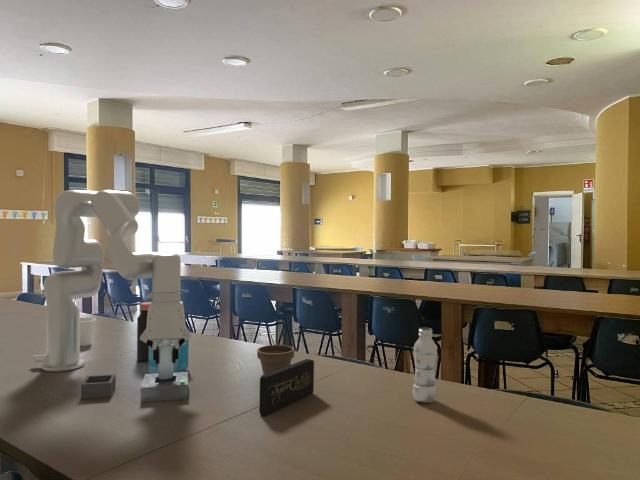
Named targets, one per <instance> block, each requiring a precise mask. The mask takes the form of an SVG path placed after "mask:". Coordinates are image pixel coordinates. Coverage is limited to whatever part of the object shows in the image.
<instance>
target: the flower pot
mask: <svg viewBox="0 0 640 480" xmlns="http://www.w3.org/2000/svg"><path fill="white" fill-rule="evenodd" d="M256 353H257V355H256V356H257V359H258V360H259V361H260V364H261V368H262V369H261V370H262V373H263V374H262V375H264V374H267V373H270V372H273V371H275V370H278V369H281V368H283V367H286V366H289V365H292V364H291V363H292V360H293V358H295V348H294V347H293V346H291V345H290V346H289V345H286V344H269V345H265V346H260V347H259V348H257V349H256Z"/></svg>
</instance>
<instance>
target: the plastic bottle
mask: <svg viewBox="0 0 640 480" xmlns="http://www.w3.org/2000/svg"><path fill="white" fill-rule="evenodd" d="M433 335H434V334H433V329H432V328H430V327H419V328H418V336H419V337H418V338H417V340H416V341H415V342H414V345H413V356H414V367H415V368H414V371H415V372H414V380H413V385H412V396H413V398H414V401H416V402H418V403H424V404H426V403H428V404H429V403H432V402H434V401H435V400H436V398H437V388H436V386H437V385H436V379H435V368H436V359H437V353H438V347H437V345H436V343H435V341H434V339H433V338H432V337H433Z"/></svg>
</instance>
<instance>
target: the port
mask: <svg viewBox="0 0 640 480" xmlns="http://www.w3.org/2000/svg"><path fill="white" fill-rule="evenodd" d="M188 375H189V371H181V372H173V377H172V378H170V379H159V378H158V373H157V374H150V373H145V374H144V377H143V379H142V383H141V385H140V403H141V404H142V403H153V402H165V401H168V402H169V401H179V400H188V390H189V388H188V387H189V386H188V384H189V383H188V382H189V376H188Z"/></svg>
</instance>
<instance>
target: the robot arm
mask: <svg viewBox="0 0 640 480" xmlns="http://www.w3.org/2000/svg"><path fill="white" fill-rule="evenodd" d="M140 206H141V205H140V201H139V198H138V197H137V196H136V195H135V194H134V193H132V192H130V191H125V190H124V191H123V190H122V191H121V190H112V189H105V190H104V189H102V190H99V191H95V190H86V189H85V190H84V189H68V190H64V191H61V192H60V193H59V194H57V196H56V198H55V201H54V206H53V212H54V218H55V232H54V239H53V249H52V262H53V264H54V265H55V266H56V267H58V268H59V269H60V268H61V269H74V268H81V270H80V269H79V270H66V271H65V270H64V271H57V272H56V271H55V272H53V273H51V274H48V275H47V276H46V277H45V279H44V280H43V292H44V296H45V302H46V353H44V354H43V355H40V354H37V355H36V354H35V355H33V356H32V362H34V363H42V364H41V370H43V371H44V372H45V371H46V372H65V371H72V370H77V369H79V368H81V367H83V366H85V363H86V362H85V360H84V359H83V358H80V355H81V354H80V352H81V351H80V350H81V349H80V348H81V346H80V318H81V317H80V316H81V315H80V310H79V308H78V306H77V305H76V304H75V302H74V300H77V299H84V298H85V299H86V298H90V297H94V296H96V295H97V294H98V293H99V291H100V289H101V285H102V279H103V278H102V277H103V272H104V270H103V269H104V262H105V250H104V247H103V245H102V243H101V242H99V241H98V240H96V239H91V238H86V239H85V232H86V228H85V227H86V226H85V224H84V222H83V219H82V218H98V219H99V221H100V222H101V224H102V226H103V227H104V229H105V230H106V232H107V233H108V235H109V238H108V241H107V254H108V259H109V261H110V262H111V264H112V266H113V267H114V269H115V270H116V271H117V273H118V275H120V276H121V277H122V278H124V279H126V280H141V279H152V280H151V281H152V285H151V287H152V289H151V290H152V291H151V292H150V293H146V299H147V300H151V301H150V302H151V303H149V307H148V314H147V328H146V329H145V331H144V332H143V334H142V335H141V337H140V340H141V341H143V342H145V343H147V344H148V345H149V346H150V347H151V348H152V349H153V361H155V360H156V364H158V363H159V348H158V340H162V339H173V340H174V347H173V363H176V359H178V348H179V347H180V346H181V345H182V344H183V343H184V342H185V341H187V340H188V339H189V340H190V339H191V338H192V333H191V332H190V331H189V329H188V327H187V326H186V317H185V306H184V303H183V301H181V269H182V268H181V257H180V255H179V254H176V253H163V252H159V251H143V252H142V251H137V252H135V251H134V252H131V251H130V249H129V248H128V247H127V245H126V244H125V242H126V241H127V240H129V239H131V238H132V237H133V236H134V235H135V234H136V233H137V232H138V228H139V224H138V222H137V220H136V219H135V217H136V216H137V215H138V214H139V212H140V209H141V208H140ZM184 334H185V336H184ZM183 336H184V337H183ZM179 338H181V339H180V340H179ZM152 340H154V341H152Z"/></svg>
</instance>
